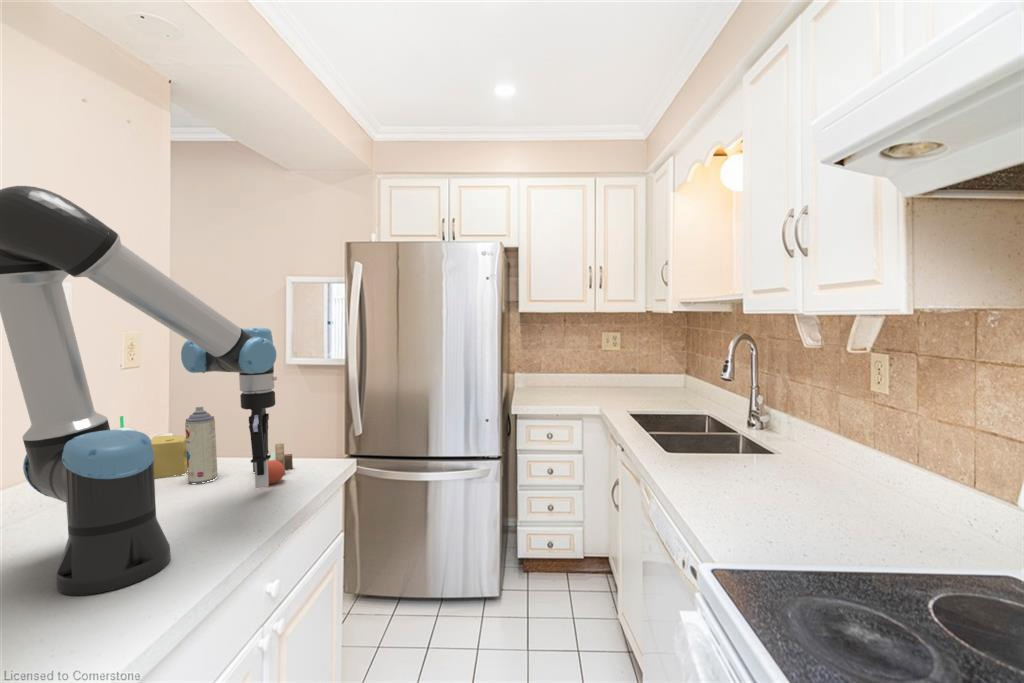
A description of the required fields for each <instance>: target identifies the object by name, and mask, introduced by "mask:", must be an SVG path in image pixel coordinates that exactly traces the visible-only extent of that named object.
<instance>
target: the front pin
mask: <svg viewBox="0 0 1024 683" xmlns="http://www.w3.org/2000/svg"><path fill="white" fill-rule="evenodd" d="M269 455H271V458H269V460H268V461H270V460H276V455H275V449H274V450H271V451H269Z"/></svg>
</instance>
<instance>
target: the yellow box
mask: <svg viewBox="0 0 1024 683" xmlns="http://www.w3.org/2000/svg"><path fill="white" fill-rule="evenodd" d="M150 440H151V443H152V449H153V451H154V478H155V479H159V478H158V477H164V478H168V477H167V476H173V477H175V476H174V475H182V474H185V473H186V472H187V471H188V469H187V450H186V436H184V435H158V436H154V437H151V438H150ZM187 473H188V472H187ZM187 473H186V474H187ZM186 474H185V475H186Z"/></svg>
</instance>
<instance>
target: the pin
mask: <svg viewBox="0 0 1024 683" xmlns="http://www.w3.org/2000/svg"><path fill="white" fill-rule="evenodd" d="M274 450H275V455H276V461H279V462H280V463H282V465H283V466H284V475H283V476H286V470H285V459H284V455H285V443H276V444H275V445H274Z"/></svg>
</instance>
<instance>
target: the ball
mask: <svg viewBox="0 0 1024 683" xmlns="http://www.w3.org/2000/svg"><path fill="white" fill-rule="evenodd" d="M284 476H285V475H284V466H283V465H282V463H280V462H279V461H276V460H270V461H268V481H269V485H273V484H277V483H279V481H281V480H282V479H283V477H284Z"/></svg>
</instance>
